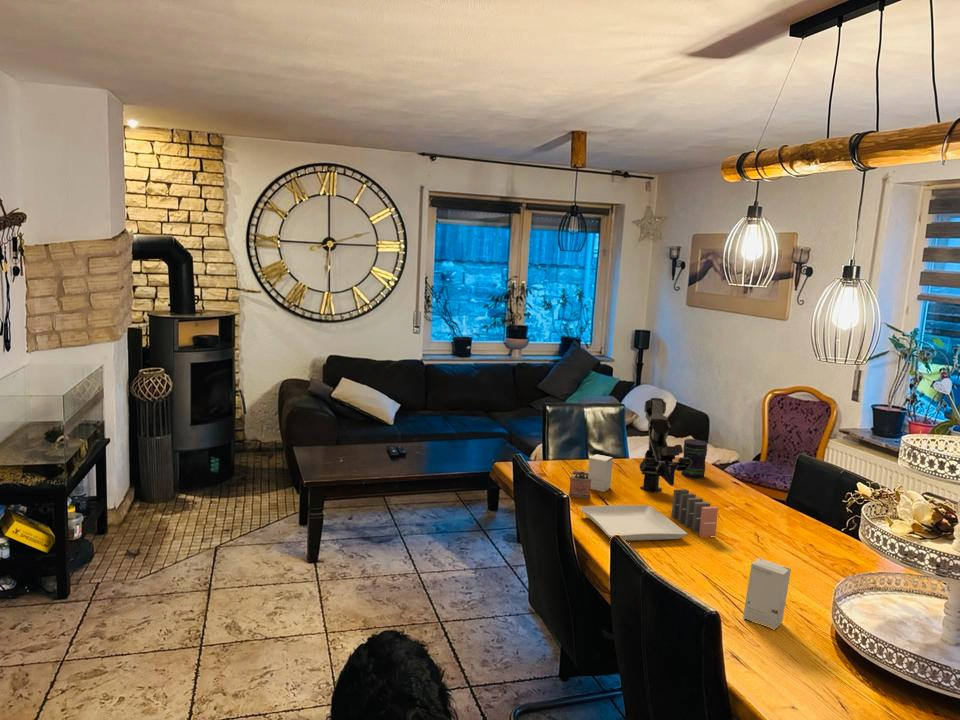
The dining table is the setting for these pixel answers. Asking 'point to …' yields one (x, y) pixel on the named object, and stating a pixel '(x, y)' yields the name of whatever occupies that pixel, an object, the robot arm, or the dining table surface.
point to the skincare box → (766, 593)
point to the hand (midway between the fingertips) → (672, 485)
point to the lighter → (580, 484)
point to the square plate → (633, 522)
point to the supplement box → (600, 472)
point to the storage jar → (695, 458)
